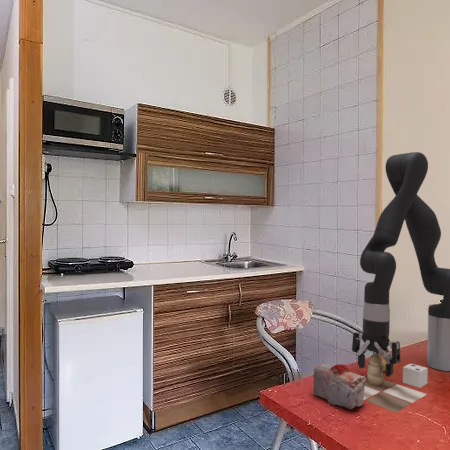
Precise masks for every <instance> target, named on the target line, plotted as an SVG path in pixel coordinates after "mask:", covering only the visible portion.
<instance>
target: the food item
mask: <svg viewBox="0 0 450 450" xmlns="http://www.w3.org/2000/svg"><path fill="white" fill-rule="evenodd" d="M365 382H366V376H364V375H360V374H358V373H355V372H351V371H350V368H349V367H348V366H346V365H345V364H342V363H341V364H340V363H336V364H335V365H332V364H330V363H321V364H319V365H316V366H315V367H314V368H313V389H312V390H313V392H312V394H313V395H314V396H317V397H320V398H322V399H324V400H327V402H328V403H329V404H330V405H334V406H339V407H343V408H345V409H347V410H353V409H355V408H359V407H362V406H364V401H365V400H363V399H364V391H365V390H364V386H365Z"/></svg>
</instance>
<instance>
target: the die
mask: <svg viewBox="0 0 450 450" xmlns="http://www.w3.org/2000/svg"><path fill="white" fill-rule="evenodd" d="M428 370H429V369H428V367H425V366H421V365H418V364H414V363H408V364H407V365H404V366H402V383H403V384H406V385H409V386H412V387H414V388H419V389H420V388H423V387H424V386H426V385H428Z"/></svg>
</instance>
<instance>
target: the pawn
mask: <svg viewBox="0 0 450 450" xmlns="http://www.w3.org/2000/svg"><path fill="white" fill-rule="evenodd" d="M380 356H381V355H380ZM380 356H379V354H377V353H375V354H371V356H369V357H368V358H369V359H368V362H367V371H366V372H367V373H366V374H367V375H366V376H367V382H368V383H369V384H371V385H375V386H380V385H383V380H384V371H383V364H382V359H381V357H382V356H381V357H380Z"/></svg>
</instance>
